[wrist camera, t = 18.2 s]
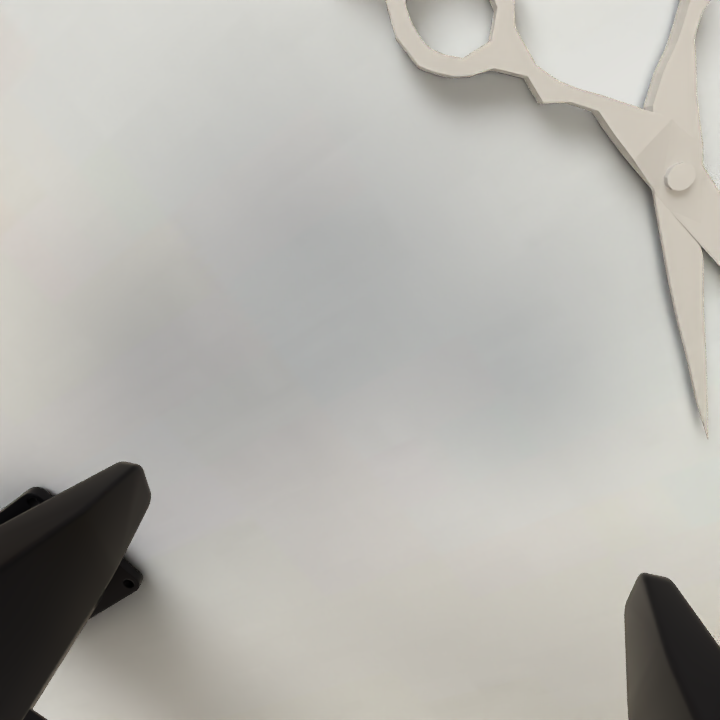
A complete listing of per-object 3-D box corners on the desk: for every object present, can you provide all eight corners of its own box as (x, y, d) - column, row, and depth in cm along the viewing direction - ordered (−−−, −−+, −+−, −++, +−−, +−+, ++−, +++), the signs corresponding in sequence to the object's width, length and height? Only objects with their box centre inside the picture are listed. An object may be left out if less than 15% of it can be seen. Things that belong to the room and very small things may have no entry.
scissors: (740, -441, 11) (951, 344, 17) (719, -405, 11) (928, 335, 17) (313, -71, 14) (623, 484, 20) (317, -61, 14) (616, 472, 20)
